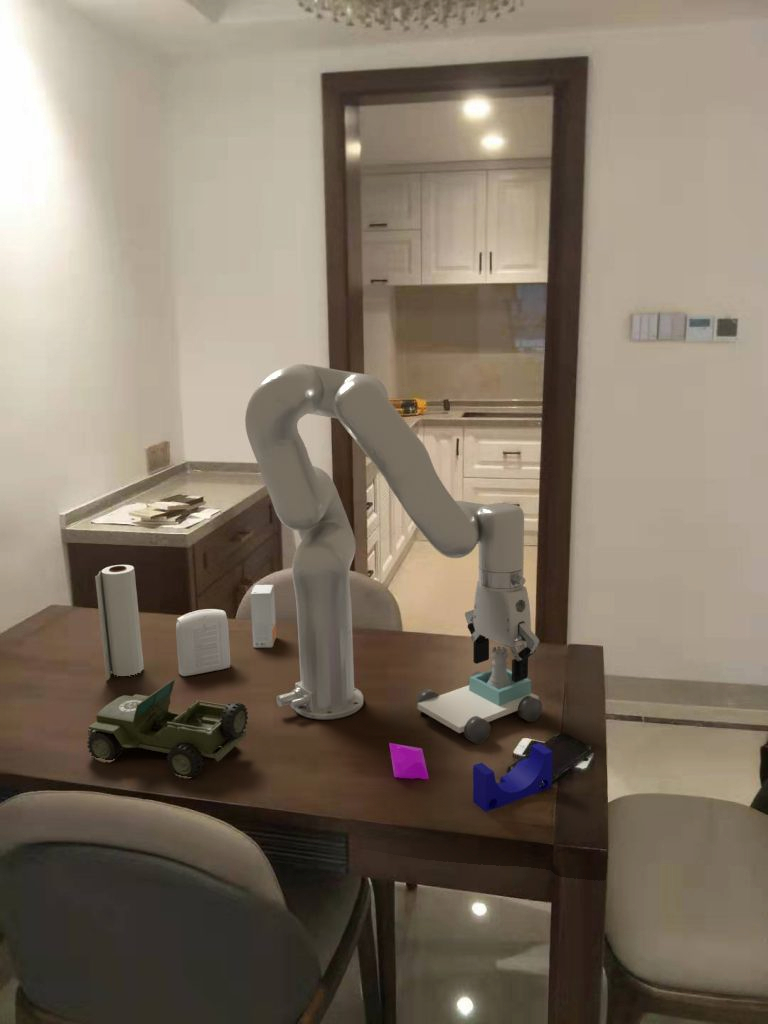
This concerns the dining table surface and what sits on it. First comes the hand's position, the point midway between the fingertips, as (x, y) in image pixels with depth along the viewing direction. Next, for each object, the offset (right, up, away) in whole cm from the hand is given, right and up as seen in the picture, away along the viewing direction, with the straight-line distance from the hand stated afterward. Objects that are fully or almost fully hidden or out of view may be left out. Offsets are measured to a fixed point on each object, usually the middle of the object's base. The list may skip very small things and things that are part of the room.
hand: (500, 670), depth 152 cm
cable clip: (-2, -14, -24) cm, 28 cm away
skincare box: (-45, 0, +34) cm, 56 cm away
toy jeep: (-55, -12, -11) cm, 57 cm away
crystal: (-16, -13, -19) cm, 28 cm away
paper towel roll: (-71, -4, +20) cm, 74 cm away
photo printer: (-55, -4, +21) cm, 59 cm away
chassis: (-4, -8, -1) cm, 9 cm away
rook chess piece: (0, -4, +1) cm, 4 cm away
